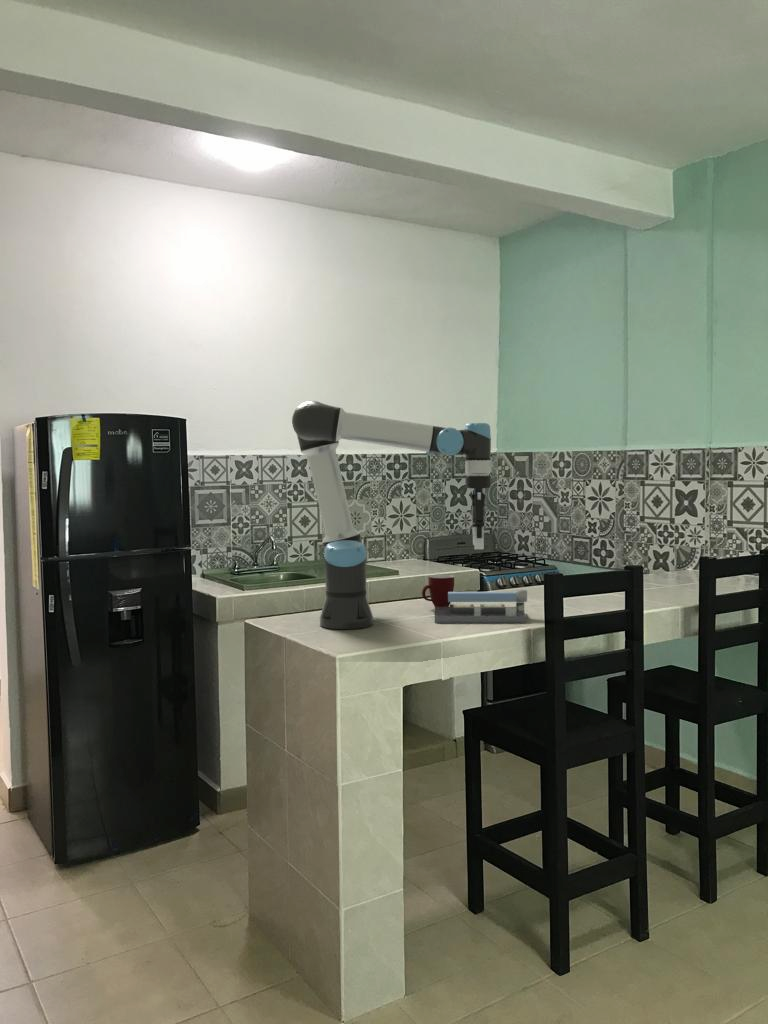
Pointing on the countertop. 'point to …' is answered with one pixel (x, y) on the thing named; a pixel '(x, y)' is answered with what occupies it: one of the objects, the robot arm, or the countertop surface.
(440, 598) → the mug
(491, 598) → the bar
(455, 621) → the server tray
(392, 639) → the countertop surface
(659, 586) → the countertop surface
